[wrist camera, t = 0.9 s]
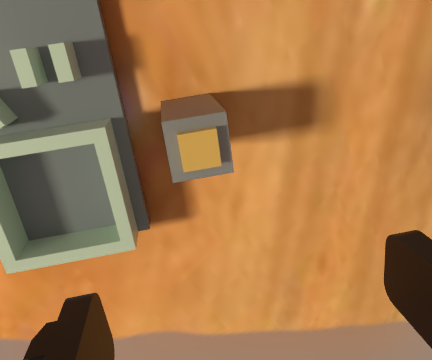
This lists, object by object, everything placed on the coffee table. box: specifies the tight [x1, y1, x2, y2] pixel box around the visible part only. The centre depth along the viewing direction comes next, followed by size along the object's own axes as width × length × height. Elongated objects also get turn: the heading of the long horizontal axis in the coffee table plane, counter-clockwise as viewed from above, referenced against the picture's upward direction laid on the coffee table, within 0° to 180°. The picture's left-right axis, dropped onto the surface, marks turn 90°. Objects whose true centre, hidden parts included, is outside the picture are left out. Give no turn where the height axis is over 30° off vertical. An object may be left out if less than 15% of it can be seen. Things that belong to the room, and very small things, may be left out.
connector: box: [161, 94, 234, 183], centre depth 26 cm, size 4×4×9 cm
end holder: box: [0, 119, 138, 274], centre depth 28 cm, size 10×10×3 cm
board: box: [0, 0, 150, 241], centre depth 27 cm, size 12×19×4 cm, turn 8°
